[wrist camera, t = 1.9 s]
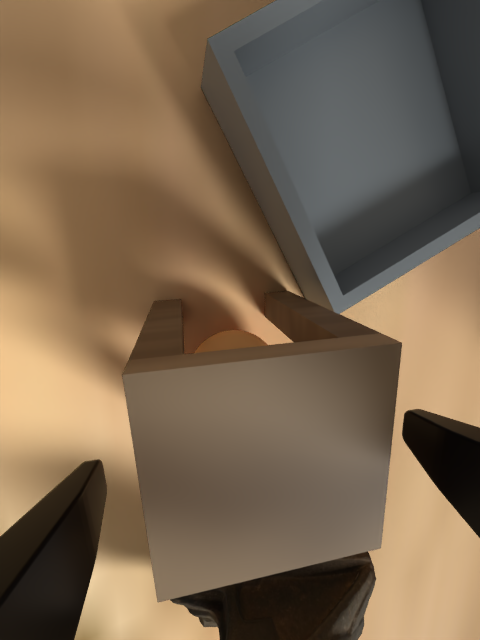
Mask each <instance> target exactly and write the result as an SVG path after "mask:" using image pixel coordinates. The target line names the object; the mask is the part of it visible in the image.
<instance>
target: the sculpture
mask: <svg viewBox="0 0 480 640" xmlns="http://www.w3.org/2000/svg"><path fill="white" fill-rule="evenodd" d="M375 580H376V577H375V572H374V566H373V564H372V561H371V558H370V555H369V553H368V551H367V552H363V553H359V554H355V555H351V556H347V557H343V558H339V559H335V560H330V561H326V562H322V563H318V564H314V565H310V566H306V567H302V568H298V569H293V570H289V571H285V572H281V573H277V574H273V575H269V576H265V577H261V578H256V579H252V580H248V581H244V582H240V583H236V584H232V585H228V586H224V587H219V588H215V589H211V590H207V591H203V592H199V593H195V594H191V595H187V596H183V597H178V598H174V599H170V600H171V601H172V602H173V603H176V604H180V605H184V606H185V607H187V609H188V610H189V612H190V613H191V614H192V615H194V616H196V617H199V620H200V622H201V624H202V625H203V626H204V627H218V628H219V635H220V640H358V638H359V637H360V635H361V634H362V630H363V627H364V614H365V611H366V608H367V605H368V601H369V599H370V597H371V594H372V591H373V588H374V585H375Z"/></svg>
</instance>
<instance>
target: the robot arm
mask: <svg viewBox="0 0 480 640" xmlns="http://www.w3.org/2000/svg"><path fill="white" fill-rule="evenodd" d="M402 436H403V439H404V441H405V443H406V444H407V446H408V447H409V449H410V450H411V451H412V453H413V454H414V456H415V457H416V459H417V460H418V461H419V463H420V464H421V466H422V467H423V468H424V470H425V471H426V473H427V474H428V475H429V477H430V478H431V480H432V481H433V482H434V484H435V485H436V486H437V488H438V489H439V490H440V491H441V493H442V494H443V495H444V496H445V497H446V499H447V500H448V501H449V502H450V503H451V504H452V506H453V507H454V508H455V509H456V510H457V512H458V513H459V514H460V515H461V516H462V518H463V519H464V520H465V521H466V522H467V523H468V525H469V526H470V527H471V528H472V529H473V531H474V532H475V533H476V534H477V535H478V537H479V538H480V428H479V427H476V426H473V425H469V424H466V423H463V422H460V421H456V420H453V419H450V418H447V417H444V416H440V415H437V414H434V413H431V412H427V411H424V410H421V409H414V410H408V411H406V412H405V414H404V421H403V430H402ZM106 494H107V485H106V479H105V474H104V469H103V464H102V461H101V460H99V459H98V460H91V461H85V462H83V463H82V464H81V465H80V466H78V467H77V468H76V469H75V470H74V471H73V472H72V473H71V474H70V475H68V476H67V477H66V478H65V479H64V480H63V481H62V482H61V483H60V484H58V485H57V486H56V487H55V488H54V489H53V490H52V491H51V492H49V493H48V494H47V495H46V496H45V497H44V498H43V499H42V500H41V501H39V502H38V503H37V504H36V505H35V506H34V507H33V508H32V509H30V510H29V511H28V512H27V513H26V514H25V515H24V516H23V517H22V518H20V519H19V520H18V521H17V522H16V523H15V524H14V525H13V526H12V527H10V528H9V529H8V530H7V531H6V532H5V533H4V534H3V535H1V536H0V640H74V638H75V635H76V631H77V627H78V624H79V620H80V616H81V612H82V609H83V605H84V601H85V598H86V594H87V590H88V587H89V583H90V579H91V575H92V572H93V568H94V564H95V560H96V555H97V549H98V543H99V537H100V531H101V525H102V519H103V513H104V507H105V501H106Z"/></svg>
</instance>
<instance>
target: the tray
mask: <svg viewBox="0 0 480 640" xmlns="http://www.w3.org/2000/svg"><path fill="white" fill-rule="evenodd" d="M201 88H202V91H203V93H204V95H205V97H206V99H207V101H208V103H209V105H210V107H211V109H212V111H213V113H214V115H215V117H216V119H217V121H218V123H219V125H220V127H221V129H222V131H223V133H224V135H225V137H226V139H227V141H228V143H229V145H230V147H231V149H232V151H233V153H234V155H235V157H236V159H237V161H238V163H239V165H240V167H241V169H242V171H243V174H244V176H245V178H246V180H247V182H248V184H249V186H250V188H251V190H252V192H253V194H254V196H255V198H256V200H257V202H258V204H259V206H260V208H261V210H262V212H263V214H264V216H265V218H266V220H267V222H268V224H269V226H270V228H271V230H272V232H273V234H274V236H275V238H276V240H277V242H278V244H279V246H280V248H281V250H282V252H283V254H284V257H285V259H286V261H287V263H288V265H289V267H290V269H291V271H292V273H293V275H294V277H295V279H296V281H297V283H298V285H299V287H300V289H301V291H302V293H303V295H304V297H305V299H307V300H309V301H311V302H313V303H316V304H318V305H320V306H322V307H324V308H327V309H329V310H331V311H333V312H335V313H338V314H340V313H342V312H343V311H345V310H346V309H348V308H350V307H351V306H353V305H355V304H356V303H358V302H360V301H361V300H363V299H364V298H366V297H368V296H369V295H371V294H373V293H374V292H376V291H377V290H379V289H381V288H382V287H384V286H386V285H387V284H389V283H391V282H392V281H394V280H395V279H397V278H399V277H400V276H402V275H404V274H405V273H407V272H409V271H410V270H412V269H413V268H415V267H417V266H418V265H420V264H422V263H423V262H425V261H426V260H428V259H430V258H431V257H433V256H435V255H436V254H438V253H440V252H441V251H443V250H444V249H446V248H448V247H449V246H451V245H453V244H454V243H456V242H458V241H459V240H461V239H462V238H464V237H466V236H467V235H469V234H471V233H472V232H474V231H475V230H477V229H479V228H480V0H276V1H274V2H272V3H270V4H269V5H267V6H265V7H263V8H262V9H260V10H258V11H256V12H254V13H253V14H251V15H249V16H247V17H246V18H244V19H242V20H240V21H238V22H237V23H235V24H233V25H231V26H230V27H228V28H226V29H224V30H222V31H221V32H219V33H217V34H215V35H214V36H212V37H210V38H208V39H207V45H206V53H205V60H204V67H203V75H202V82H201Z"/></svg>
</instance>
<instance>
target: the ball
mask: <svg viewBox="0 0 480 640" xmlns="http://www.w3.org/2000/svg"><path fill="white" fill-rule="evenodd" d="M266 345H267V344H266V343H265V342H264V341H263V340H262V339H261V338H259V337H257V336H256V335H254V334H251V333H249V332H245V331H240V330H228V331H223V332H220V333H217V334H215V335H213V336H211V337H209V338H208V339H206V340H205V341H204V342H203V343H202V344H201V345H200V346H199V347H198V348H197V350H196V351H195V353H201V352H210V351H220V350H229V349H238V348H248V347H257V346H266Z"/></svg>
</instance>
